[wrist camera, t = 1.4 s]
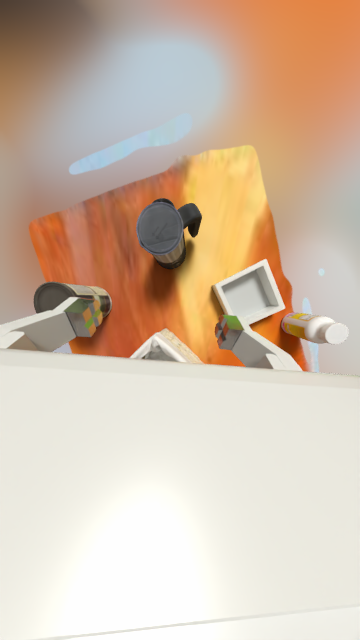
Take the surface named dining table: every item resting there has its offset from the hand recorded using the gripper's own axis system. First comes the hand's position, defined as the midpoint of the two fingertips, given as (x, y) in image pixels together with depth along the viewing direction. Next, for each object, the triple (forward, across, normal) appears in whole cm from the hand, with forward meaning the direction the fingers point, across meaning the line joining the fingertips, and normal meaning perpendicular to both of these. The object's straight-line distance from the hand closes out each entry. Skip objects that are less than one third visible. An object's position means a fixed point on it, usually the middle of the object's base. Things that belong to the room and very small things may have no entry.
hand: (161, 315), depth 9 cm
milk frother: (+38, -2, -1) cm, 38 cm away
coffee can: (+31, -23, -21) cm, 44 cm away
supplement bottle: (+24, +38, -16) cm, 48 cm away
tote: (+29, +22, -11) cm, 38 cm away
